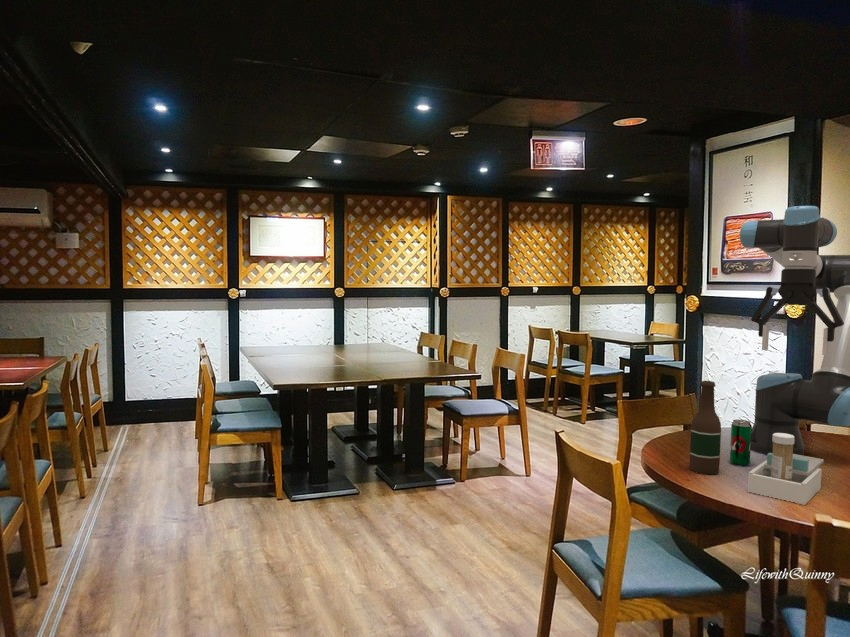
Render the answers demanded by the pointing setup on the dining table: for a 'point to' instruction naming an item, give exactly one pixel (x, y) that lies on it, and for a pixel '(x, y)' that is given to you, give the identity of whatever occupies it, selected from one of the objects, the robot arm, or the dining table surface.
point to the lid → (799, 464)
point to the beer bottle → (705, 434)
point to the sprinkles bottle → (782, 456)
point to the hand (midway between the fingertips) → (794, 352)
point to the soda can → (740, 442)
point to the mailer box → (784, 485)
